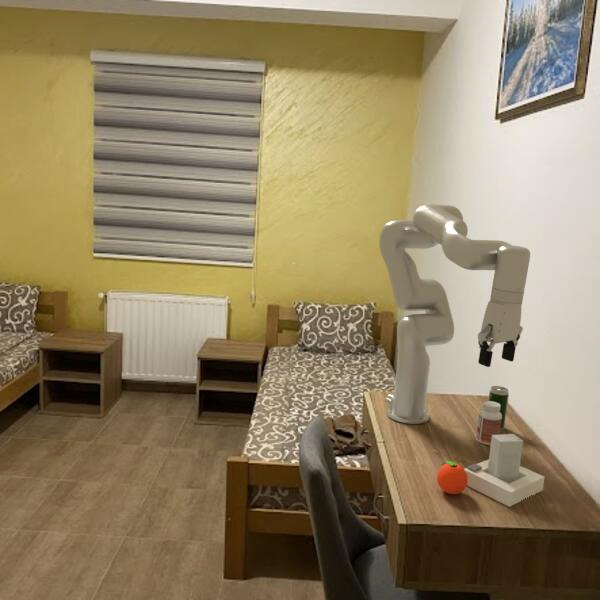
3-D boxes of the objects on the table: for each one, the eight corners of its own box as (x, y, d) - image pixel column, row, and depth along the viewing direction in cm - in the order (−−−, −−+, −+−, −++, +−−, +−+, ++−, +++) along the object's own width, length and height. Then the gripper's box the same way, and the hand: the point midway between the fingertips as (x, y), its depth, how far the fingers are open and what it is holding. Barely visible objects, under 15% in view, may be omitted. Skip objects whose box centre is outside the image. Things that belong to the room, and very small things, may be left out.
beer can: (490, 431, 183) (496, 392, 181) (481, 423, 189) (486, 385, 186) (507, 430, 185) (512, 391, 182) (497, 423, 190) (503, 385, 187)
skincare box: (507, 479, 153) (513, 433, 150) (517, 488, 148) (524, 440, 146) (484, 481, 151) (491, 434, 149) (494, 489, 147) (501, 441, 145)
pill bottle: (503, 443, 175) (508, 406, 173) (488, 447, 172) (493, 409, 170) (485, 435, 180) (490, 398, 178) (470, 438, 177) (475, 401, 175)
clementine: (427, 485, 148) (430, 456, 147) (451, 481, 151) (455, 453, 149) (446, 501, 141) (450, 472, 140) (472, 497, 144) (475, 469, 142)
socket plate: (461, 482, 150) (463, 466, 150) (495, 468, 159) (497, 453, 158) (509, 506, 141) (511, 490, 140) (542, 490, 149) (545, 474, 149)
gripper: (513, 290, 162) (503, 353, 166) (472, 295, 151) (462, 362, 155) (540, 297, 156) (528, 362, 160) (499, 302, 146) (487, 372, 150)
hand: (495, 362), depth 158 cm, fingers open, 9 cm apart
